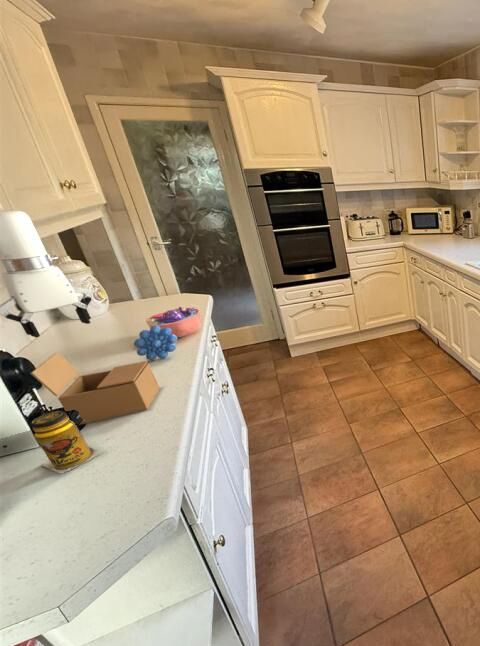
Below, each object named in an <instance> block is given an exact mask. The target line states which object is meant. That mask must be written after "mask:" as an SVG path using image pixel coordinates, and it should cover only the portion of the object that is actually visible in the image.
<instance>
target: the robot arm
mask: <svg viewBox="0 0 480 646" xmlns="http://www.w3.org/2000/svg"><path fill="white" fill-rule="evenodd" d="M0 261H1V264H2V265H3V267H4V269H5V271H6V272H3V273H2V278H3V282H4V285H5V288H6V290H7V293H8V296H9V298H8V299H7V300H6V301H4V302H2V303H1V304H0V316H2V317H3V318H6V319H8V320H11V321H14V322H18V323H20V325H21V327H22V328H23V330H24V332H25V334H26V335H27V336H30V337H33V338H36V339H37V338H40V337H41V334H40V332H39V331H38V329H37V326H36V325H35V323H34V322H33V321H31V320H30V319H31V318H32V316H33V314H35V313H37V314H38V313H42V312H46V311H51V310H54V309H59V308H63V307H68V306H71V305H72V306H74V307H75V312H76V314H77V316H78V319H79V320H80V323H82V324H87V325H88V324H89V325H90V324H91V321H90V320H91V319H92V318H91V316H90V313H89V311H88V308H89V305H90V303H91V301H92V297H93V290H92V289H90V288H84V287H78V286H77V287H76V286H72V285H71V283H70V281H69V280H68V279H67V277H66V275H65V274H64V273H63V271H62V270H61V269H60V268H59V266H57V265H55V264H54V262H58V261H59V257H58V255H56V254H55V255H52V254H51V255H50V254H49V253H48V252H47V250H46V248H45V246H44V244H43V242H42V240H41V237H40V236H39V234H38V231H37V229H36V227H35V225H34V224H33V221H32V219H31V217H30V216H29V215H28V213H26V212H24V211H22V210H13V209H12V210H0ZM77 293H79V294H82V296H83V297H82V298H81V299H80V301H79V298H78V295H77ZM12 307H14V308H15V309H16V310H17V311H18V312H19V313H18V314H17V315H16V314H13V313H11V312H9V310H10V309H11V308H12Z"/></svg>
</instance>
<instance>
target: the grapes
mask: <svg viewBox="0 0 480 646" xmlns="http://www.w3.org/2000/svg"><path fill="white" fill-rule="evenodd" d="M171 333H172V331H171V329H170V328H163V329H162V330H161V328H160V327H159V326H153V327H151V328H150V327H149V330H148V329H142V330H141V331H140V332H139V334H138V336H139V338H136V339H135V340H134V342H133V345H134V347H136V348H137V349H136V354H137V356H140V357H144V356H145V358H146V360H147V361H154V360H155V359H156V358H158V359H161V360H163V359H166V358H167V357H168V355H169V353H172V352H173V353H174V351H175V350H176V349H177V345H176V344H175V343H177V341H178V338H177V336H176V335H174V334H172V335H170V334H171Z"/></svg>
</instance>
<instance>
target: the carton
mask: <svg viewBox="0 0 480 646" xmlns="http://www.w3.org/2000/svg"><path fill="white" fill-rule="evenodd" d="M155 376H156V375H155V374H154V372H153V370H152V368H151V366H150V363H148V360H143V361H139V362H133V363H129V364H122V365H117V366H114V367H113V368H112V369H111V370H105V371H99V372H94V373H89V374H84V375H79V376H78V377H77V379H75V380H74V381H73V383H71V384H70V386H69V387H68V388H67V389H65V390H64V391H63V393H62V394H60V396H58V397H57V398H58V401H59V403H60V404H61V406H62V408H63V409H64V412H66V411H71V410H76V411H78V412H79V415H80V417H81V418H83V419H84V420H85V421H82V422H81V423H80V424H79V425H78V426H80V425H85V424H88V423H89V424H90V423H93V422H98V421H102V420H106V419H112V418H115V417H120V416H125V415H128V414H134V413H138V412H143V411H146V410H147V411H148V409H149V407H150V406H151V404H152V402H153V401H154V399H155V397H156V396H157V394H158V392H159V391H160V386H159V383H158V381H157V379H156V377H155Z"/></svg>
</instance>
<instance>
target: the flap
mask: <svg viewBox="0 0 480 646" xmlns="http://www.w3.org/2000/svg"><path fill="white" fill-rule="evenodd" d="M79 374H80V373H79V371H78V370H76V369H75V368H74V367H73V366H72V364H71V363H69V362H68V361H67V360H66V359H65V358H64V357H63V356H62V355H61V354H60V353H59V352H58V351H56V352H55V353H54V354H52V356H50V357H49V358H47V359H46V360H45V361H44V362H42V363H41V364H40V365H39V366H37V367H36V368H35V369H34V370H32V371H31V372H30V375H31V376H33V377H34V378H35V379H36V380H37V381H38V382H39V383H40V384H41V385H42V386H44V387H45V388H46V389H47V390H48V391H49V392H50V393H51V394H53V395H54V396H55V397H57V396H59V394H61V393H62V392H63V391H64V390H65V389H66V388H67V387H68V385H70V384H71V383H72V382H73V381H75V380H76V378H78V377H79V376H80V375H79Z"/></svg>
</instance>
